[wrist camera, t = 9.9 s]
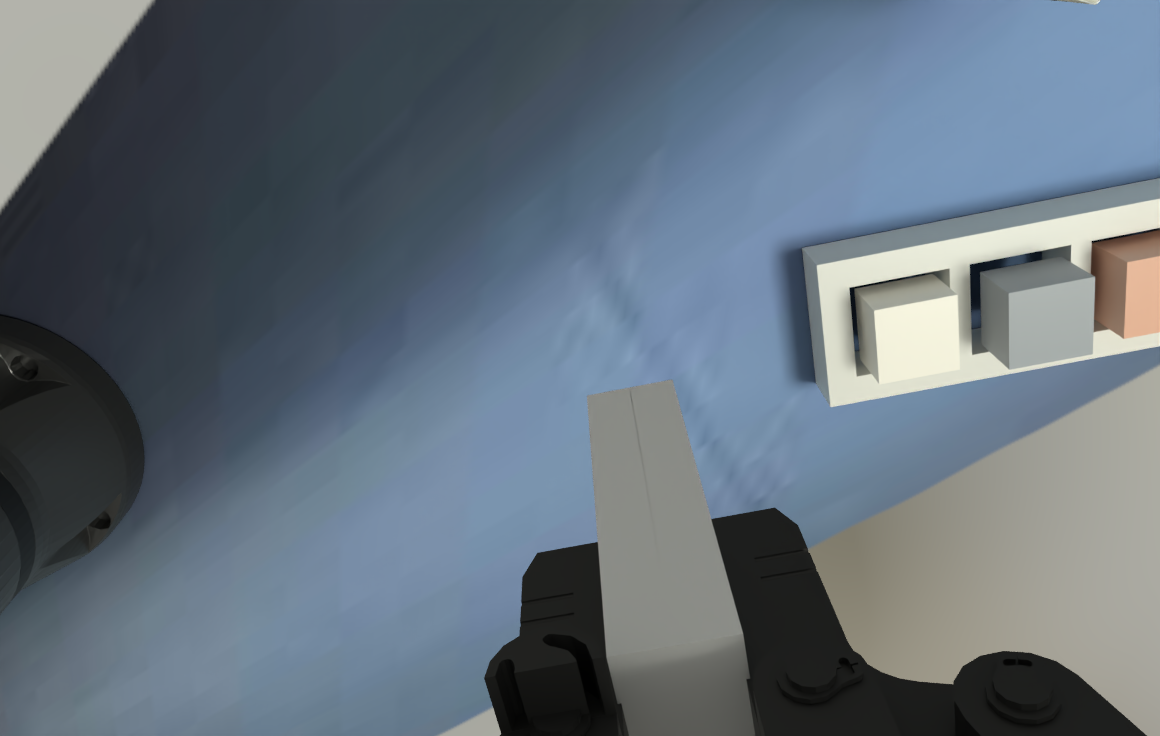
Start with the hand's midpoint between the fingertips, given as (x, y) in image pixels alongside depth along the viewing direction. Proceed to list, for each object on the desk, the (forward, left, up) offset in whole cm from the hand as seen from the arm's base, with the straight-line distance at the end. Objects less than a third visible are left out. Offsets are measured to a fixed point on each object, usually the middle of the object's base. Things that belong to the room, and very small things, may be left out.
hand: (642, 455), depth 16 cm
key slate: (+20, -12, -29) cm, 38 cm away
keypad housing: (+20, -12, -32) cm, 40 cm away
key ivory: (+14, -12, -30) cm, 36 cm away
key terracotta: (+26, -12, -30) cm, 42 cm away
